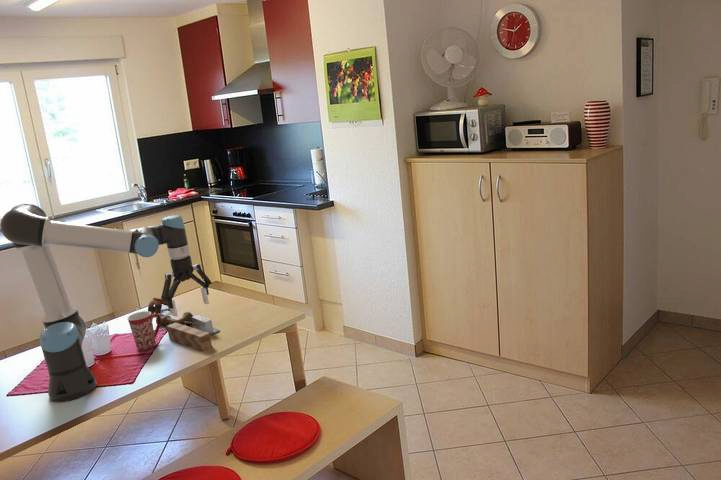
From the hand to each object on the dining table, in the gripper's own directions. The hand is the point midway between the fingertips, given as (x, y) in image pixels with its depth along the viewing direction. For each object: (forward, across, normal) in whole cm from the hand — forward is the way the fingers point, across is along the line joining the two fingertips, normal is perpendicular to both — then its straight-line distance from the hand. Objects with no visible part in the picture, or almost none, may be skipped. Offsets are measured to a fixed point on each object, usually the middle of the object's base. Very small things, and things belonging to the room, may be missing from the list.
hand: (191, 309), depth 227 cm
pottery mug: (+15, +11, +52) cm, 56 cm away
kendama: (+16, +6, +27) cm, 32 cm away
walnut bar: (+15, 0, +6) cm, 17 cm away
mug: (+15, -10, +20) cm, 27 cm away
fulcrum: (+15, +9, +11) cm, 21 cm away
